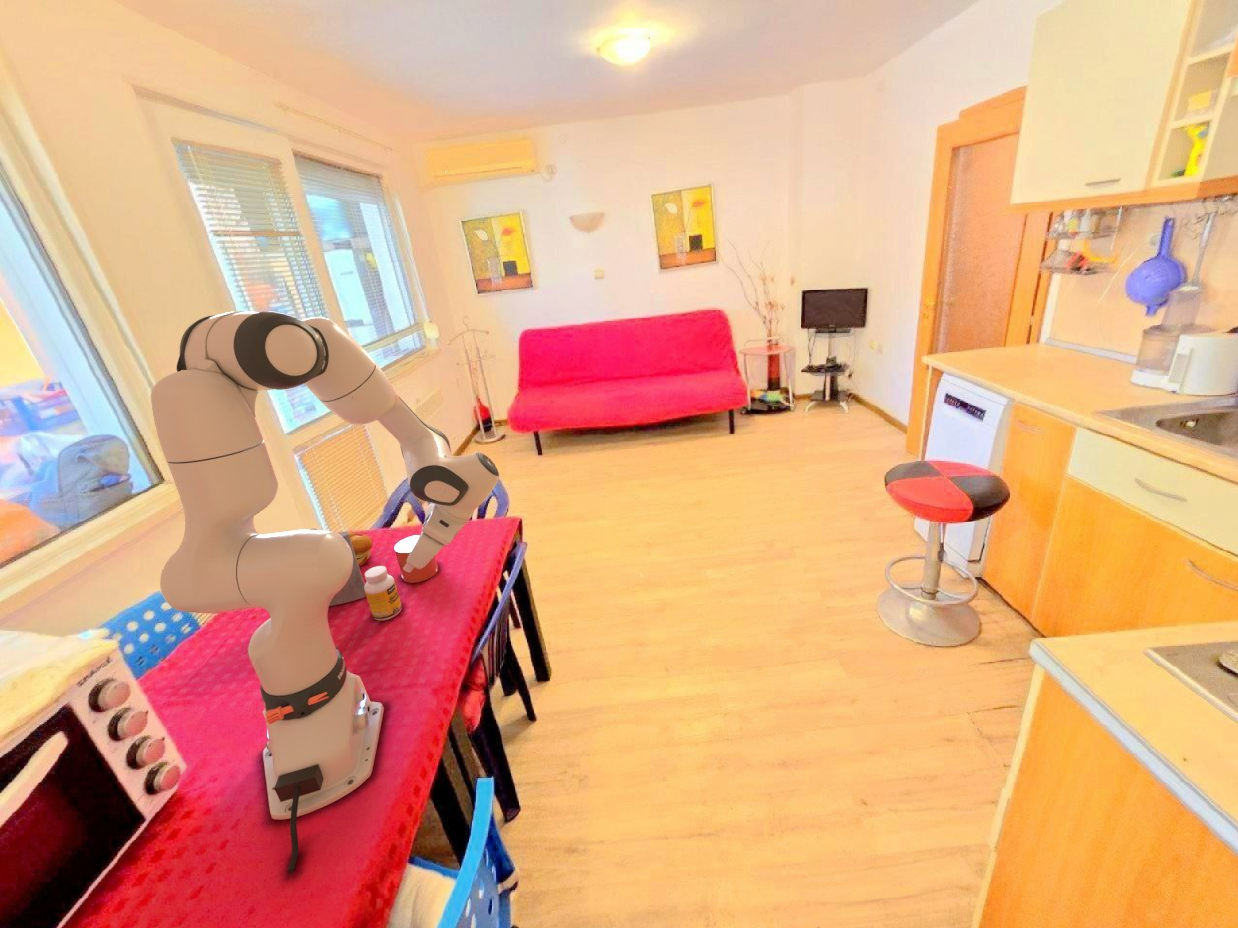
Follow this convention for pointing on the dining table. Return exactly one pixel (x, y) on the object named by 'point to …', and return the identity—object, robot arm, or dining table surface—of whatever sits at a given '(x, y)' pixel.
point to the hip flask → (350, 580)
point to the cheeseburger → (361, 547)
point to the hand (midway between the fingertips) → (412, 557)
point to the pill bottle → (381, 593)
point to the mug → (416, 574)
